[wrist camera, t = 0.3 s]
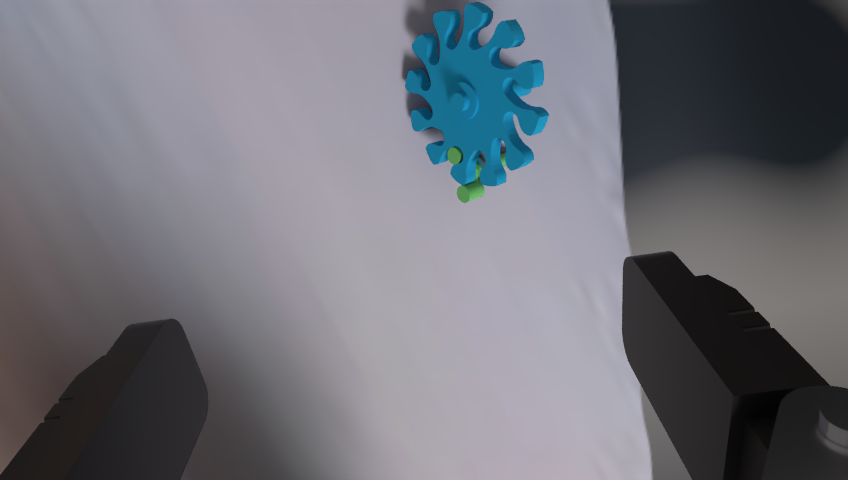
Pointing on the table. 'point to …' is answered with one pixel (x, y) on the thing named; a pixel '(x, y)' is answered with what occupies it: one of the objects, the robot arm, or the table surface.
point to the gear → (475, 99)
